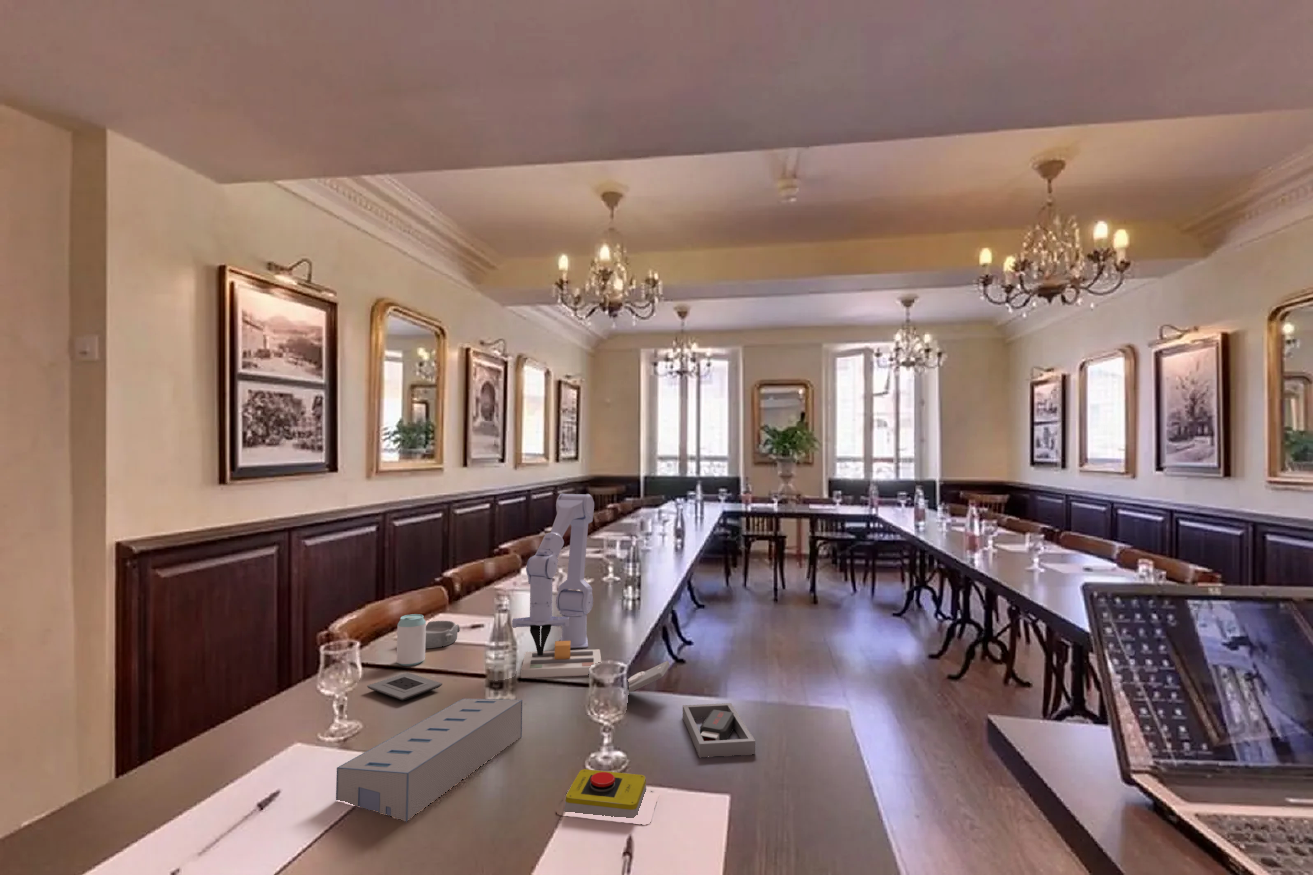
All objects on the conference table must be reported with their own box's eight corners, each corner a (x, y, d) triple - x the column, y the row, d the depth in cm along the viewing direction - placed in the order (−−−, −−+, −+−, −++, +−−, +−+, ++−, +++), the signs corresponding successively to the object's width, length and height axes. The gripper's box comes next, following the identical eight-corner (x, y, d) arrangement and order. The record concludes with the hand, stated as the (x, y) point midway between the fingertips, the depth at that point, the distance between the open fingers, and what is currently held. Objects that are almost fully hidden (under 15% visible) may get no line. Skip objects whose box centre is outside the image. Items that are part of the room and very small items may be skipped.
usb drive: (736, 723, 124) (736, 710, 125) (721, 749, 113) (721, 734, 113) (711, 719, 126) (712, 706, 126) (695, 744, 115) (695, 730, 115)
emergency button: (572, 759, 102) (660, 768, 99) (572, 786, 101) (660, 795, 99) (553, 789, 92) (650, 799, 90) (553, 818, 92) (649, 829, 90)
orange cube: (555, 656, 160) (555, 641, 160) (570, 655, 161) (570, 640, 161) (554, 661, 156) (554, 645, 156) (570, 660, 157) (570, 645, 157)
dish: (397, 649, 172) (397, 631, 172) (423, 635, 186) (423, 618, 186) (444, 652, 170) (444, 634, 170) (467, 637, 183) (467, 621, 184)
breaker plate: (525, 659, 164) (525, 648, 164) (599, 656, 166) (599, 646, 167) (521, 677, 150) (521, 666, 150) (601, 674, 153) (602, 663, 153)
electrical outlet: (442, 692, 141) (442, 682, 141) (401, 707, 132) (402, 696, 133) (407, 681, 148) (407, 671, 148) (366, 694, 140) (367, 684, 140)
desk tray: (682, 717, 128) (682, 705, 128) (730, 715, 129) (730, 703, 129) (699, 757, 110) (699, 744, 111) (755, 754, 112) (755, 740, 112)
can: (418, 666, 157) (419, 620, 158) (391, 666, 157) (392, 620, 158) (429, 658, 164) (430, 613, 165) (403, 657, 164) (404, 613, 165)
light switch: (613, 681, 143) (666, 656, 141) (624, 705, 142) (678, 680, 140) (602, 695, 135) (658, 668, 132) (614, 720, 134) (670, 694, 132)
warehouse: (461, 726, 123) (462, 689, 124) (521, 739, 118) (522, 699, 118) (335, 804, 95) (337, 755, 96) (406, 824, 90) (407, 773, 90)
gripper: (511, 606, 153) (510, 660, 153) (568, 604, 155) (568, 658, 155) (513, 599, 160) (513, 651, 160) (569, 598, 162) (568, 649, 162)
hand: (540, 654), depth 158 cm, fingers closed
